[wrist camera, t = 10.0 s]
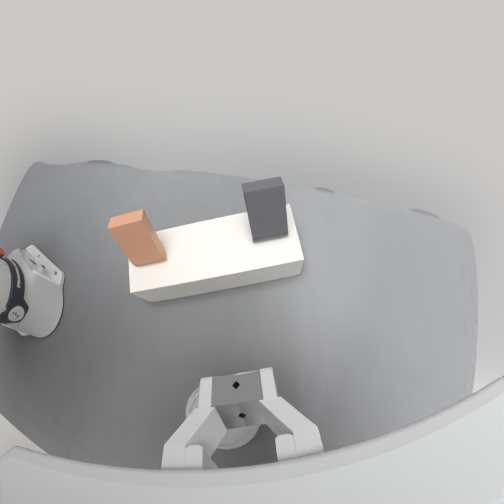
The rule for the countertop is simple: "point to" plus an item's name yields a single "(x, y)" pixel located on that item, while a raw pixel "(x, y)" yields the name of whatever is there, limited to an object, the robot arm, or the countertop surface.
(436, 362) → the countertop surface
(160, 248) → the rocker terracotta
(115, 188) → the countertop surface
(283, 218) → the rocker charcoal
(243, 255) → the switch box
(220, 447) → the disposable coffee cup
